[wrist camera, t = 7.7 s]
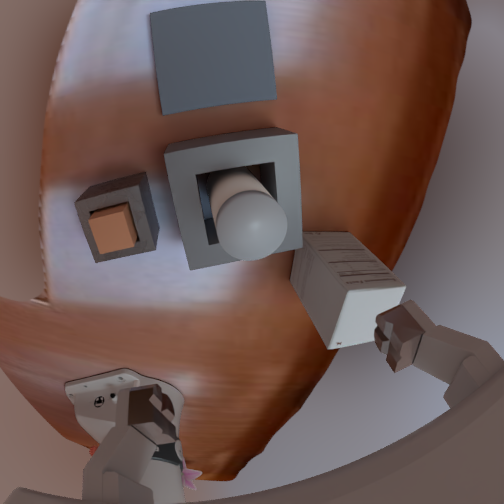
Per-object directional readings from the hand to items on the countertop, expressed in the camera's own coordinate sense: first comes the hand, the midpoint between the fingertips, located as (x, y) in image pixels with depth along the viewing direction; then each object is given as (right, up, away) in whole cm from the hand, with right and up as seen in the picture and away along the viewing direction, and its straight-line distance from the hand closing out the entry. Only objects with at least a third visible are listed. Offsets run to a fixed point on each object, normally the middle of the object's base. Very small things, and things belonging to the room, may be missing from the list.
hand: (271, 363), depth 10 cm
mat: (-4, +23, +13) cm, 27 cm away
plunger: (-14, +8, +18) cm, 25 cm away
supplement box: (+8, +3, +27) cm, 29 cm away
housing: (-3, +11, +20) cm, 23 cm away
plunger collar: (-14, +9, +19) cm, 25 cm away
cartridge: (-3, +11, +20) cm, 23 cm away
